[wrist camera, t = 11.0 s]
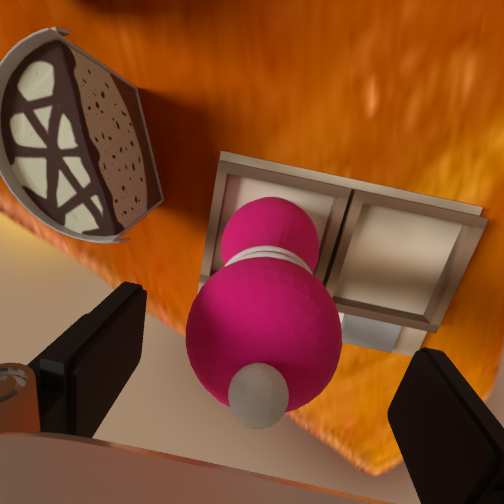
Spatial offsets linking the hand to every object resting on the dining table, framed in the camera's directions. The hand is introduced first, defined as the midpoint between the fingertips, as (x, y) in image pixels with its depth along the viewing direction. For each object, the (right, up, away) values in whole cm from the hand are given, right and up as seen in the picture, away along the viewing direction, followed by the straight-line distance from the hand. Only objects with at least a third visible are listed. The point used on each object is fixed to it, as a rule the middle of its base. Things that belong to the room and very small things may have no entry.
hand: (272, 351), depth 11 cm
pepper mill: (+1, +5, +17) cm, 18 cm away
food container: (-12, +12, +17) cm, 24 cm away
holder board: (+6, +3, +18) cm, 19 cm away
